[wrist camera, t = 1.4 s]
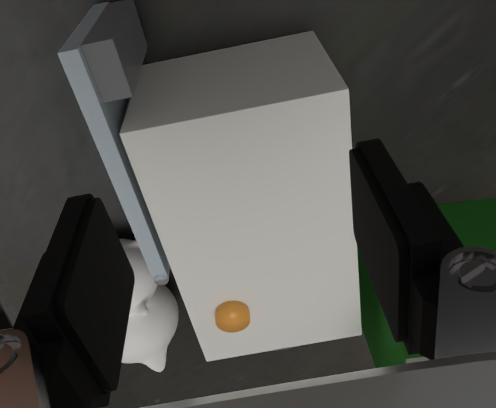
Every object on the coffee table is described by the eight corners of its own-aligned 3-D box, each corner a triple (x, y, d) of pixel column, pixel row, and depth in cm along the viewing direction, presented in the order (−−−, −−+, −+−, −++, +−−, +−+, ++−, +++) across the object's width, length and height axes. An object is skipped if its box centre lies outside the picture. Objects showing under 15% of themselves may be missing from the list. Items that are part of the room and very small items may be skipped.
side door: (93, 4, 30) (57, 53, 22) (134, -4, 29) (110, 42, 22) (165, 206, 39) (155, 286, 32) (195, 200, 39) (193, 279, 32)
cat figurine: (79, 303, 33) (124, 404, 39) (208, 235, 37) (229, 335, 44) (42, 245, 39) (87, 341, 46) (156, 192, 43) (182, 286, 50)
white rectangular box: (139, 65, 33) (115, 141, 24) (312, 30, 32) (352, 95, 23) (210, 284, 46) (211, 385, 37) (334, 262, 45) (365, 359, 36)
